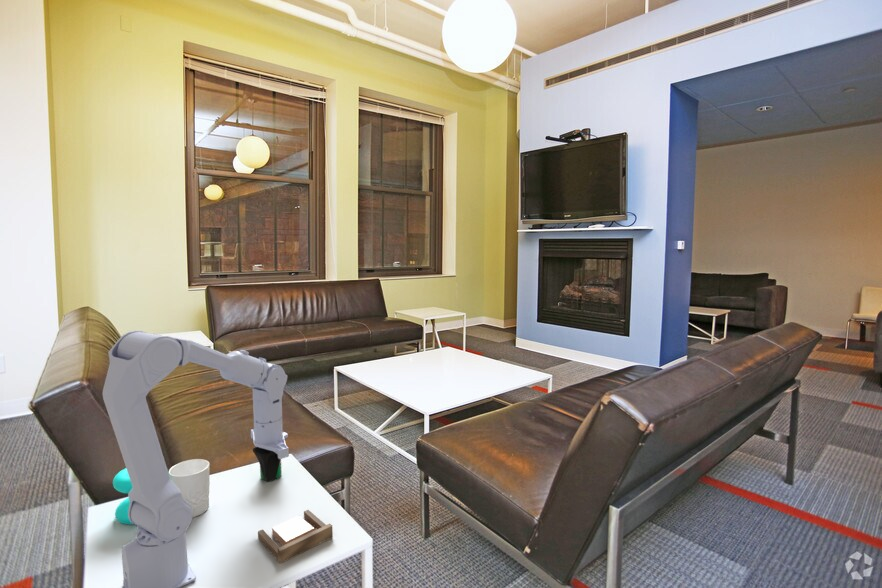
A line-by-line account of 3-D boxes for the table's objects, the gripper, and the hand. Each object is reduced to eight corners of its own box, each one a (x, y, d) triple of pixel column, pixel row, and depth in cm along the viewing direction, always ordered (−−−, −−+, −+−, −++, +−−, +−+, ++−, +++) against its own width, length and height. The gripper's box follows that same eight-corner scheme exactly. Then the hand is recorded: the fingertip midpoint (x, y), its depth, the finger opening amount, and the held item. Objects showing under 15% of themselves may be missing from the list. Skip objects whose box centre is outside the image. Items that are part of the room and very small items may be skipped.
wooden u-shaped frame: (280, 563, 85) (279, 550, 85) (258, 538, 92) (257, 526, 92) (332, 537, 93) (332, 525, 92) (308, 516, 100) (307, 505, 99)
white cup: (169, 508, 103) (166, 465, 101) (207, 496, 107) (205, 455, 106) (174, 525, 96) (171, 480, 95) (215, 512, 101) (212, 469, 100)
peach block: (286, 551, 89) (286, 541, 89) (272, 537, 93) (272, 527, 93) (314, 537, 93) (313, 528, 93) (299, 524, 97) (299, 515, 97)
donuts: (171, 471, 99) (114, 487, 92) (173, 515, 100) (118, 533, 94) (163, 455, 106) (110, 468, 100) (165, 495, 108) (113, 511, 101)
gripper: (301, 422, 95) (303, 484, 97) (271, 405, 106) (273, 461, 107) (268, 432, 90) (271, 497, 92) (240, 412, 101) (242, 471, 102)
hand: (270, 478), depth 99 cm, fingers closed
